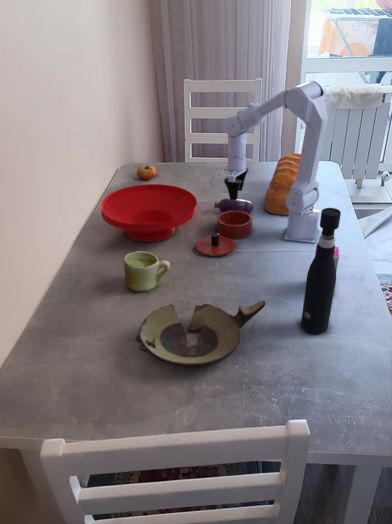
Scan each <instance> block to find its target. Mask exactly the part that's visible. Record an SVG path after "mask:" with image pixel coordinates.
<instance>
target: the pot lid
mask: <svg viewBox="0 0 392 524" xmlns="http://www.w3.org/2000/svg"><path fill="white" fill-rule="evenodd" d="M235 248H236V244H235V241H234V239H232V238H228V237H224V236H221V235H220V234H219V233H218V232H212V233H211V234H210V235H208V236H204V237H202V238H200V239H198V240H197V241H196V243H195V249H196V250H197V252H198V253H200V254H202V255H205V256H209V257H221V256H225V255H228V254H231V253H232V252H233V251H234V250H235Z"/></svg>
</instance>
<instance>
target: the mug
mask: <svg viewBox="0 0 392 524" xmlns="http://www.w3.org/2000/svg"><path fill="white" fill-rule="evenodd" d="M162 268H164V269H163V270H162V271H160V270H161V269H162ZM170 268H171V263H170V262H169V261H168V260H165V259H161V260H159V258H158V257H157V255H155V254H154V253H152V252H149V251H145V250H143V251H142V250H137V251H133V252H130V253H127V254H126V255H125V257H124V259H123V269H124V280H125V285H126V287H127V288H128V289H130V290H131V291H133V292H148V291H150V290H153V289H155V288H156V286H157V285H158V284H159V282H160V280H161V279H162V278H163V277H164V276H165V275H166V274H167V273H168V272H169V271H170ZM159 271H160V272H159Z"/></svg>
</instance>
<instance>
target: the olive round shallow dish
mask: <svg viewBox="0 0 392 524" xmlns="http://www.w3.org/2000/svg"><path fill="white" fill-rule="evenodd" d="M266 304H267V302H266V301H265V300H260V301H258V302H256V303H254V304H252V305H246V306H245V305H238V311H237V313H236V314H234V315H232V314H230V313H228V312H227V311H225V310H224V309H222V308H220V307H218V306H215V305H212V304H210V303H204V304H202V305H200V304H196V305H195V307H194V310H193V314H192V317H191V321H190V322H189V325H188V328H187V329H188V331H187V332H188V333H199V332H200V331H201V333H200V336H199V342H198V343H196V344H192V345H190V346H187V342H188V341H187V333H186V330H185V327H184V326H183V323H182V320H181V319H180V318H179V314H178V313H177V310H176V307H175V305H174V304H171V303H170V304H168V305H164V306H160V307H159V308H157V309H155V310H153V311H152V312H150V313H149V314H148V315H147V316H146V317H145V318H144V319H143V322H142V323H141V325H140V327H139V331H138V334H137V335H136V336H135V337H134V339H135V341H136V342H138V343H139V344H140V346H139V350H140V351H142V352H146V353H148V354H149V355H150V356H152V357H153V358H155V359H157V360H159V361H161V362H162V363H164V364H165V363H166V364H168V365H171V366H176V367H177V366H178V367H185V368H195V367H197V368H198V367H205V366H209V365H214V364H217V363H220V362H222V361H224V360H226V359H227V358H229V356H231V355H232V354H233V353H234V352H235V351H236V350H237V347H238V346H239V344H240V341H241V328H242V327H244V325H246V324H247V323H248V322H249V321H250V320H251V319H253V318H254V317H255V316H256V315H257V314H259V312H260V311H262V309H263V308H264V307H265V306H266ZM191 339H194V336H193V337H191Z"/></svg>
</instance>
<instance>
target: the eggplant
mask: <svg viewBox="0 0 392 524" xmlns="http://www.w3.org/2000/svg"><path fill="white" fill-rule="evenodd" d="M213 205H214V209H218V210H219V211H220V212H221V214H222V213H224V212H227V211H243V212H246V213H248V214H250V215H251V214H252V212H253V210H254V205H253V203H252V202H251V201H250V200H246V199H237V200H231V199H230V198H223V199H221V200H220V201H215V202H214V204H213Z"/></svg>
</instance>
